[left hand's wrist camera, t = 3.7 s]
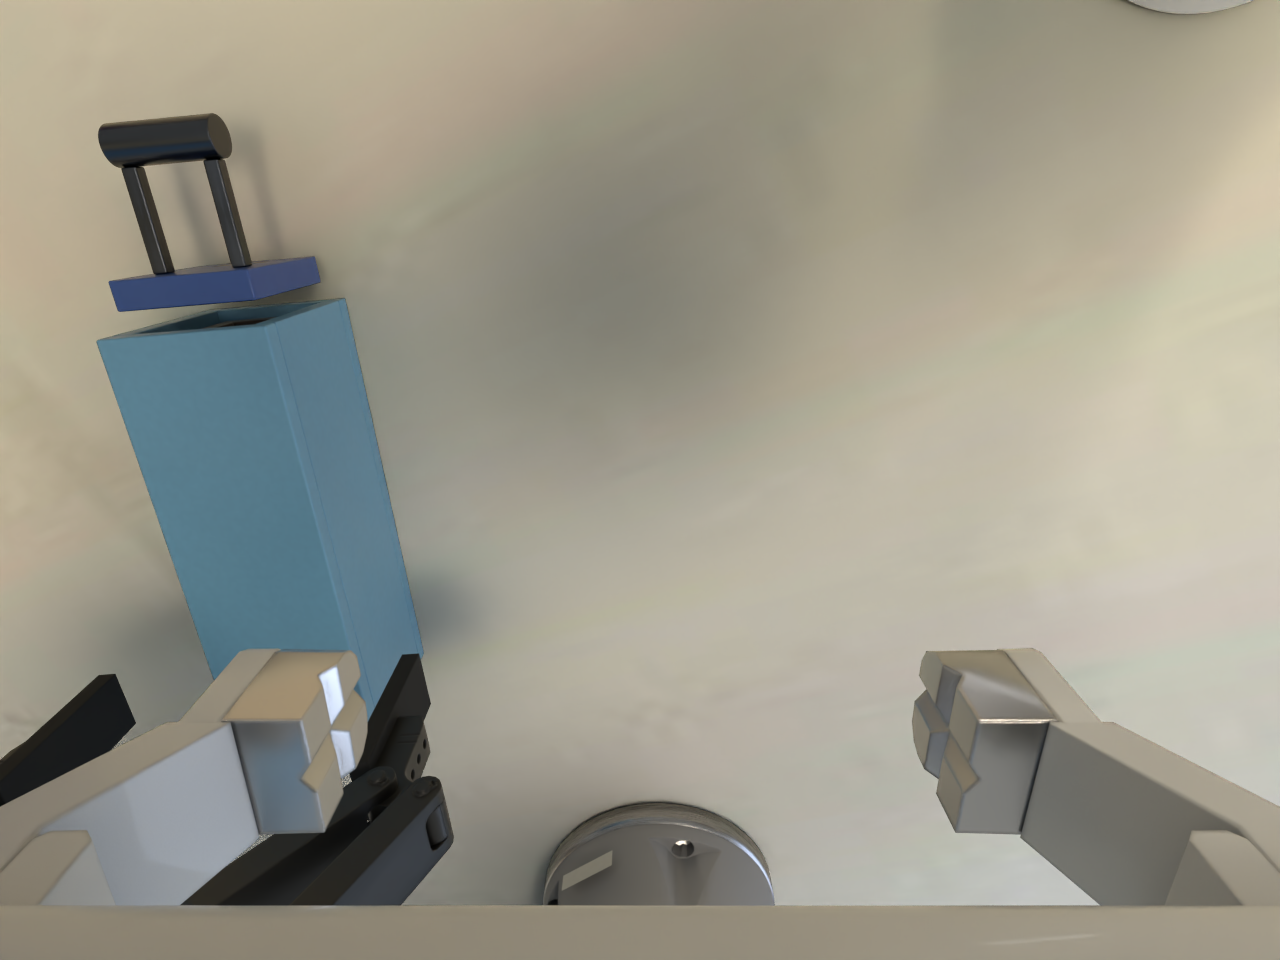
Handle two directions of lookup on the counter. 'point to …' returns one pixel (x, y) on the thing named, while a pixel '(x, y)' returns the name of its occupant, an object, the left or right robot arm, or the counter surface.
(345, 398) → the light-blue storage box
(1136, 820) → the left robot arm
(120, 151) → the drawer
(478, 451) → the counter surface
